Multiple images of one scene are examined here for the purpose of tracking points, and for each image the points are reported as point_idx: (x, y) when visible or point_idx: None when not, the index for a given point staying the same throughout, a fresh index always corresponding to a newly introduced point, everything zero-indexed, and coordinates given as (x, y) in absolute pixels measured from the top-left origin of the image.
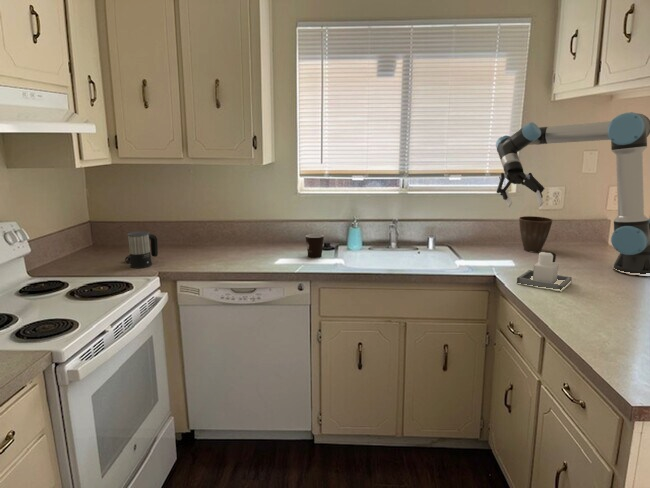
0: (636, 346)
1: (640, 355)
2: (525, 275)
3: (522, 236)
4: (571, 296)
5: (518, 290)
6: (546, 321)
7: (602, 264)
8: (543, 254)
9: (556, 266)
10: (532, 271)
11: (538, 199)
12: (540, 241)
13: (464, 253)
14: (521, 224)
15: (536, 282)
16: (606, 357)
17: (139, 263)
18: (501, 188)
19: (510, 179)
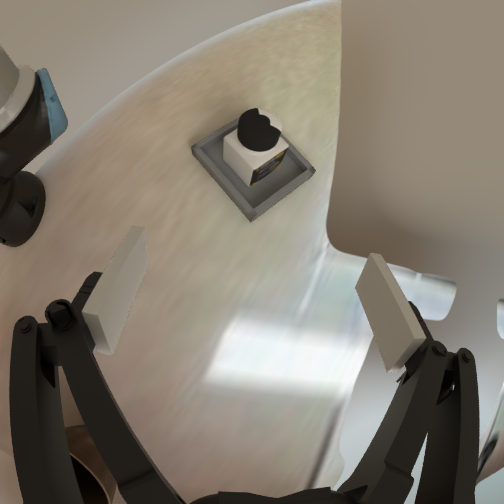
0: (284, 11)
1: (293, 6)
2: (283, 187)
3: None
4: (249, 98)
5: (326, 144)
6: (340, 58)
7: (25, 275)
8: (278, 117)
9: (237, 128)
10: (250, 206)
11: (131, 279)
12: (81, 427)
13: (300, 454)
14: (112, 489)
15: (287, 141)
16: (323, 13)
17: None
18: (458, 360)
19: (409, 477)
